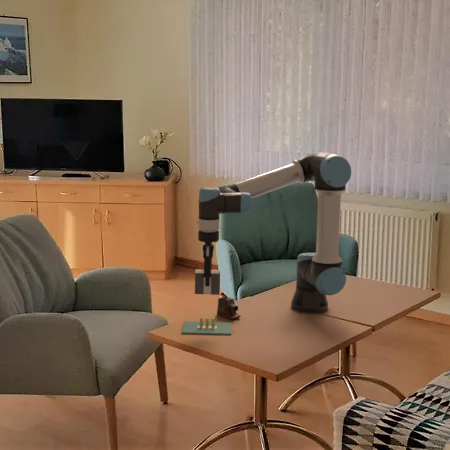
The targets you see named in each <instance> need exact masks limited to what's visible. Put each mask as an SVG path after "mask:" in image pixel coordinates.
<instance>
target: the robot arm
mask: <svg viewBox="0 0 450 450" xmlns="http://www.w3.org/2000/svg"><path fill="white" fill-rule="evenodd" d="M351 176H352V167H351V165H350V163H349V161H348V160H347V159H346V158H345V157H344V156H341V155H340V154H337V153H330V152H325V151H317V152H313V153H310V154H306V155H304V156H302V157H299V158H296V159H293V160H292V162H291V163H290V164H287V165H284V166H281V167H278V168H276V169H272V170H270V171H267V172H264V173H261V174H258V175H256V176H253V177H250V178H247V179H244V180H242V181H239V182H236V183H233V184H231V185H228V186H222V185H221V186H217V187H215V186H214V187H213V186H204V187H201V188H200V189H199V191H198V192H199V193H198V220H197V221H196V223H197V224H198V231H197V233H198V234H197V235H198V236H197V240H198V241H199V242H200V243H201V242H202V243H204V244H202V252H203V253H202V254H203V257H202V258H203V270H204V276H202V277H204V293H203V294H202V295H209V294H210V295H211V270H213V257H214V250H215V246H214V244H213V243H217V242H218V241H219V239H220V230H219V229H220V214H245V213H247V214H248V213H250V211H251V210H252V207H253V199H254V198H257V197H260V196H262V195H265V194H268V193H270V192H274V191H277V190H279V189H282V188H285V187H287V186H290V185H294V184H296V183H299V184H304V183H307V182H308V183H309V182H314V191H315V192H316V193H317V194H318V195H317V217H316V244H315V247H316V248H315V252H303V253H300V254H298V255H297V261H296V279H295V280H296V283H295V284H296V285H295V291H294V293H293V295H292V296H293V297H292V298H291V302H290V303H291V305H290V308H291V309H292V310H294V311H296V312H298V313H299V312H301V313H306V314H319V313H321V314H322V313H324V312H326V311H328V310H329V301H328V299H327V298H328V297H327V296H335V295H337V294H339V293H340V292H341V291H342V290H343V289H344V288H345V286H346V283H347V275H346V272H345V271H344V270H343V269H342V267H343V260H342V257H340V255H339V244H340V223H341V205H342V204H341V202H342V201H341V199H342V194H343V193H344V192H345V191H346V185H347V184H348V182H349V181H350V180H351V178H352V177H351Z"/></svg>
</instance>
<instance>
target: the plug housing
mask: <svg viewBox="0 0 450 450" xmlns="http://www.w3.org/2000/svg"><path fill="white" fill-rule="evenodd" d="M202 276H204V269H199V268H197V269H195V271H194V295H204V294H203V293H204V277H202ZM220 289H221V270H220V269H212V270H211V295H212V296H214V295H216V296H219V295H220V291H221V290H220ZM208 295H210V294H208Z"/></svg>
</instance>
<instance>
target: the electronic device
mask: <svg viewBox="0 0 450 450" xmlns="http://www.w3.org/2000/svg"><path fill="white" fill-rule="evenodd" d="M237 311H239V306H237V305H236V303H235V299H234V298H231V297H223V296H222V297H220V298H218V299H217V310H216V314H217V316H221V317H223V318H226V319H230V321H236V320H239V319H240V318H241V314H238V313H237Z"/></svg>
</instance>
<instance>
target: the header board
mask: <svg viewBox="0 0 450 450" xmlns="http://www.w3.org/2000/svg"><path fill="white" fill-rule="evenodd" d="M232 322H233V321H232ZM232 322H230V321H229V322H227V321H226V322H225V321H216V318H215V317H211V321H210V318H209V317H206V318H205V321H204V318H203V317H200V318H199V321H186V320H185V321H184V322H183V326H182V330H181V334H182V335H214V336H215V335H216V336H217V335H218V336H232Z"/></svg>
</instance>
